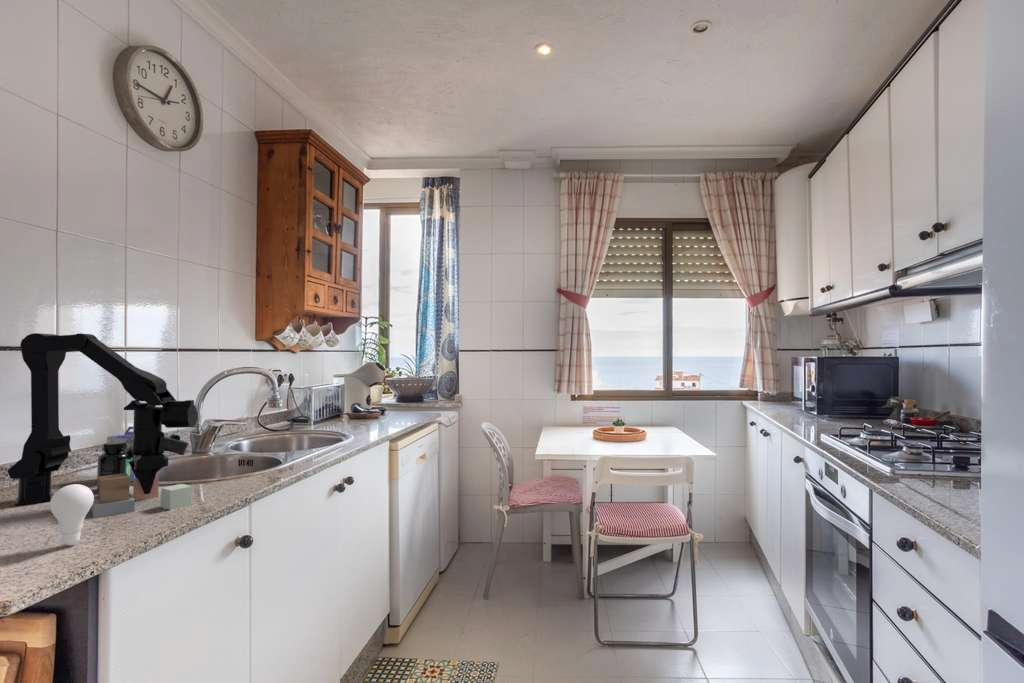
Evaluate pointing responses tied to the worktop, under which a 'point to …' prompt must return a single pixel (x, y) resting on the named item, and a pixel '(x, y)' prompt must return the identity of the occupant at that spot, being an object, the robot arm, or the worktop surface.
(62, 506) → the lightbulb
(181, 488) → the sage block
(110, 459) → the supplement bottle
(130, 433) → the ink cartridge box
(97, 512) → the slate base block
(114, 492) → the walnut cube
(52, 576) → the worktop surface
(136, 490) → the terracotta block
